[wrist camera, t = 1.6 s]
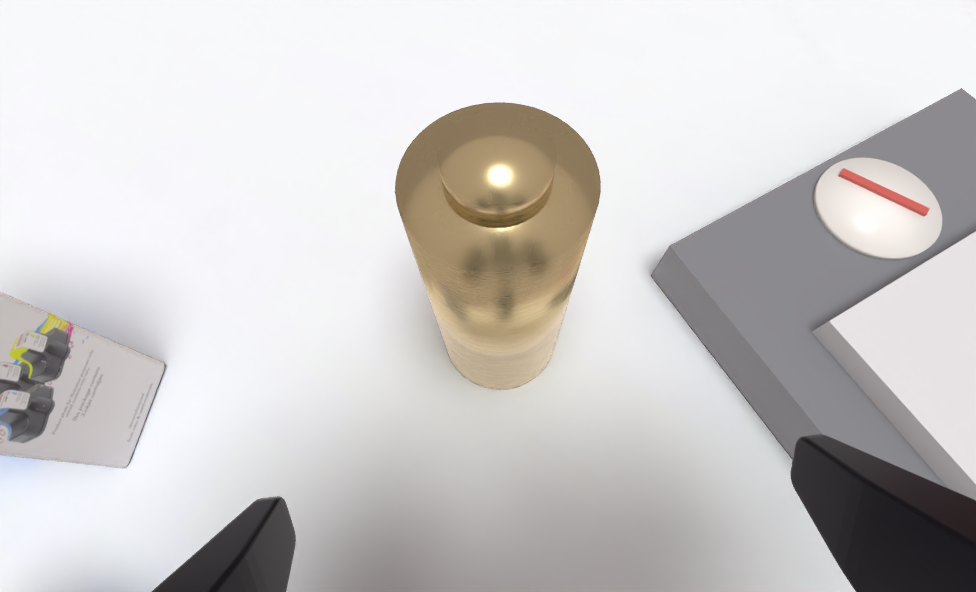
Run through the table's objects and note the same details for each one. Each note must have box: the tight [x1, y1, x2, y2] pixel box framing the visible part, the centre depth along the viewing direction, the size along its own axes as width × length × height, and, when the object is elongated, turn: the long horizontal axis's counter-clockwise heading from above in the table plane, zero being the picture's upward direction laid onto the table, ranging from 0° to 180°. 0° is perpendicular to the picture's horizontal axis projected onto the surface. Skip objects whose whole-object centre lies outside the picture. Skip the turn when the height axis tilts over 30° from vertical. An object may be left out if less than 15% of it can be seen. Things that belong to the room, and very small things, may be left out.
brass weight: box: [395, 103, 600, 389], centre depth 18 cm, size 5×5×13 cm
